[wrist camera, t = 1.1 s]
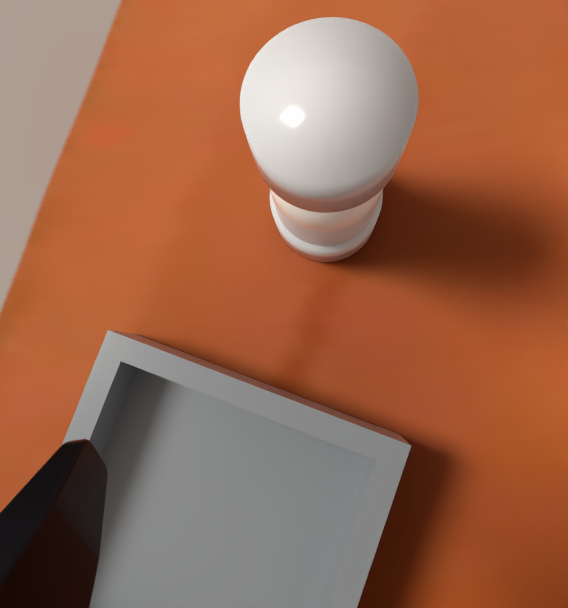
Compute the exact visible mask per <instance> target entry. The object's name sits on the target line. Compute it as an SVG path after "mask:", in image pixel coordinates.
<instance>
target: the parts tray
mask: <svg viewBox="0 0 568 608" xmlns="http://www.w3.org/2000/svg"><path fill="white" fill-rule="evenodd" d="M80 439H88V440H90V441H91V442H92V444H93V445H94V447H95V448H96V450H97V451H98V453H99V455H100V456H101V458H102V459H103V461H104V462H105V464H106V467H107V471H108V479H107V489H106V499H105V509H104V519H103V529H102V539H101V548H100V556H99V562H98V568H97V573H96V578H95V583H94V588H93V593H92V597H91V602H90V607H89V608H357V606H358V603H359V600H360V597H361V594H362V591H363V588H364V585H365V582H366V579H367V576H368V573H369V570H370V568H371V565H372V562H373V559H374V556H375V553H376V550H377V547H378V544H379V541H380V538H381V535H382V532H383V529H384V526H385V523H386V520H387V517H388V514H389V511H390V508H391V505H392V502H393V499H394V496H395V493H396V490H397V487H398V484H399V481H400V478H401V475H402V472H403V469H404V466H405V463H406V460H407V457H408V454H409V451H410V448H411V445H410V444H409V443H408V442H407V441H406V440H405V439H404V438H403V437H402V436H401V435H399V434H397V433H395V432H392V431H390V430H387V429H384V428H382V427H379V426H376V425H374V424H371V423H369V422H366V421H363V420H361V419H358V418H355V417H353V416H350V415H347V414H345V413H342V412H340V411H337V410H334V409H332V408H329V407H326V406H324V405H321V404H319V403H316V402H313V401H311V400H308V399H305V398H303V397H300V396H297V395H295V394H292V393H290V392H287V391H284V390H282V389H279V388H276V387H274V386H271V385H269V384H266V383H263V382H261V381H258V380H255V379H253V378H250V377H247V376H245V375H242V374H240V373H237V372H234V371H232V370H229V369H226V368H224V367H221V366H219V365H216V364H213V363H211V362H208V361H205V360H203V359H200V358H197V357H195V356H192V355H190V354H187V353H184V352H182V351H179V350H176V349H174V348H171V347H169V346H166V345H163V344H161V343H158V342H155V341H153V340H150V339H147V338H145V337H142V336H140V335H137V334H132V333H125V332H119V331H112V330H108V331H107V334H106V336H105V339H104V341H103V344H102V346H101V349H100V351H99V354H98V356H97V359H96V361H95V364H94V366H93V369H92V371H91V374H90V376H89V379H88V381H87V384H86V386H85V389H84V391H83V394H82V396H81V399H80V401H79V404H78V406H77V409H76V411H75V414H74V416H73V419H72V421H71V424H70V426H69V429H68V431H67V434H66V436H65V439H64V441H63V444H64V443H66V442H68V441H73V440H80ZM63 444H62V445H63Z"/></svg>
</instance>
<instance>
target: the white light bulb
mask: <svg viewBox="0 0 568 608" xmlns="http://www.w3.org/2000/svg"><path fill="white" fill-rule="evenodd" d="M417 110H418V87H417V81H416V77H415V74H414V71H413V68H412V66H411V64H410V62H409V60H408V59H407V57H406V55H405V54H404V52H403V51H402V50H401V49H400V47H399V46H398V45H397V44H396V43H395V42H394V41H393V40H392V39H391V38H390V37H388V36H387V35H386V34H384V33H383V32H381V31H380V30H378V29H376V28H374V27H372V26H370V25H368V24H366V23H363V22H360V21H357V20H352V19H347V18H338V17H327V18H318V19H312V20H308V21H304V22H301V23H298V24H296V25H294V26H291V27H289V28H287V29H286V30H284V31H282V32H280V33H279V34H278V35H276V36H275V37H273V38H272V39H271V40H270V41H269V42H268V43H267V44H266V45H264V46H263V48H262V49H261V50H260V51H259V52H258V54H257V55H256V56H255V58H254V59H253V61H252V62H251V64H250V66H249V68H248V70H247V72H246V75H245V78H244V81H243V84H242V89H241V95H240V112H241V119H242V123H243V127H244V130H245V133H246V136H247V139H248V142H249V145H250V148H251V151H252V154H253V157H254V160H255V163H256V166H257V168H258V171H259V173H260V175H261V177H262V178H263V180H264V182H265V183H266V184H267V185H268V187H269V188H270V206H271V210H272V214H273V217H274V220H275V223H276V226H277V229H278V231H279V234H280V236H281V238H282V239H283V241H284V242H285V243H286V245H287V246H288V247H289V248H290V249H291V250H292V251H294V252H295V253H296V254H298V255H299V256H301V257H303V258H306V259H308V260H312V261H316V262H335V261H339V260H342V259H345V258H347V257H349V256H351V255H353V254H354V253H356V252H357V251H358V250H359V249H361V248H362V247H363V246H364V244H365V243H366V242H367V241H368V239H369V237H370V236H371V234H372V232H373V229H374V227H375V224H376V222H377V219H378V216H379V214H380V211H381V207H382V201H383V188H384V187H385V186H386V185H387V183H388V182H389V181H390V180H391V178H392V176H393V175H394V173H395V171H396V169H397V167H398V165H399V162H400V160H401V157H402V155H403V152H404V149H405V147H406V144H407V142H408V139H409V136H410V134H411V131H412V129H413V126H414V123H415V119H416V116H417Z"/></svg>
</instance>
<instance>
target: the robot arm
mask: <svg viewBox="0 0 568 608" xmlns="http://www.w3.org/2000/svg"><path fill="white" fill-rule="evenodd" d="M107 479H108V471H107V467H106V464H105V462H104V461H103V459H102V458H101V456H100V455H99V453H98V451H97V450H96V448H95V447H94V445H93V444H92V442H91V441H90V440H88V439H80V440H73V441H68V442H66V443H64V444H63V445H62V446H61V447H60V448H59V449H58V450H57V451H56V452H55V453H54V454H53V455H52V456H51V458H50V459H49V460H48V461H47V462H46V463H45V464H44V465H43V466H42V467H41V469H40V470H39V471H38V472H37V473H36V474H35V475H34V476H33V477H32V478H31V480H30V481H29V482H28V483H27V484H26V485H25V486H24V487H23V488H22V489H21V491H20V492H19V493H18V494H17V495H16V496H15V497H14V498H13V499H12V500H11V501H10V503H9V504H8V505H7V506H6V507H5V508H4V509H3V510H2V511H1V512H0V608H89V607H90V602H91V597H92V593H93V588H94V583H95V578H96V573H97V568H98V562H99V556H100V548H101V539H102V529H103V519H104V509H105V499H106V489H107Z"/></svg>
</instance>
